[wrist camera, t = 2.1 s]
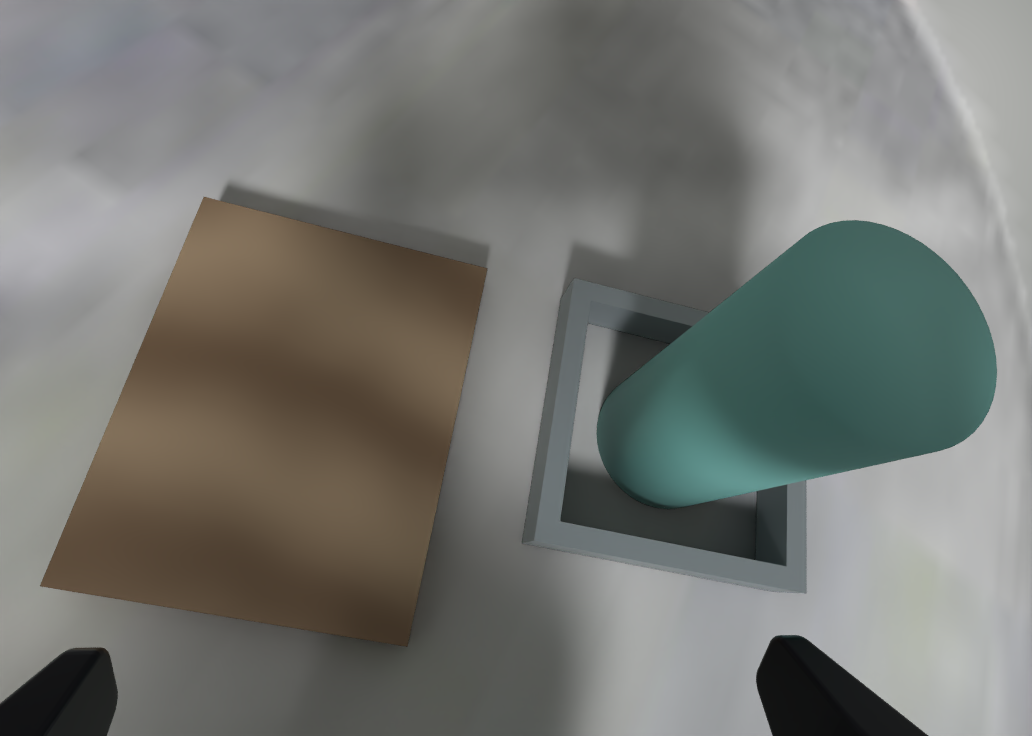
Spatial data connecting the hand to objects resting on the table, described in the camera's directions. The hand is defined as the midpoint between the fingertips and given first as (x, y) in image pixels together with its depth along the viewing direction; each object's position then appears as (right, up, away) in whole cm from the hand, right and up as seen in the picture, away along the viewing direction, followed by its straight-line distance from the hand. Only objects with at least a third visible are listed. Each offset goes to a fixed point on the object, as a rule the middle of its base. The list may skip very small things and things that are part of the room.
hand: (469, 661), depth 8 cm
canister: (+7, +1, +16) cm, 18 cm away
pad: (-7, +2, +14) cm, 16 cm away
